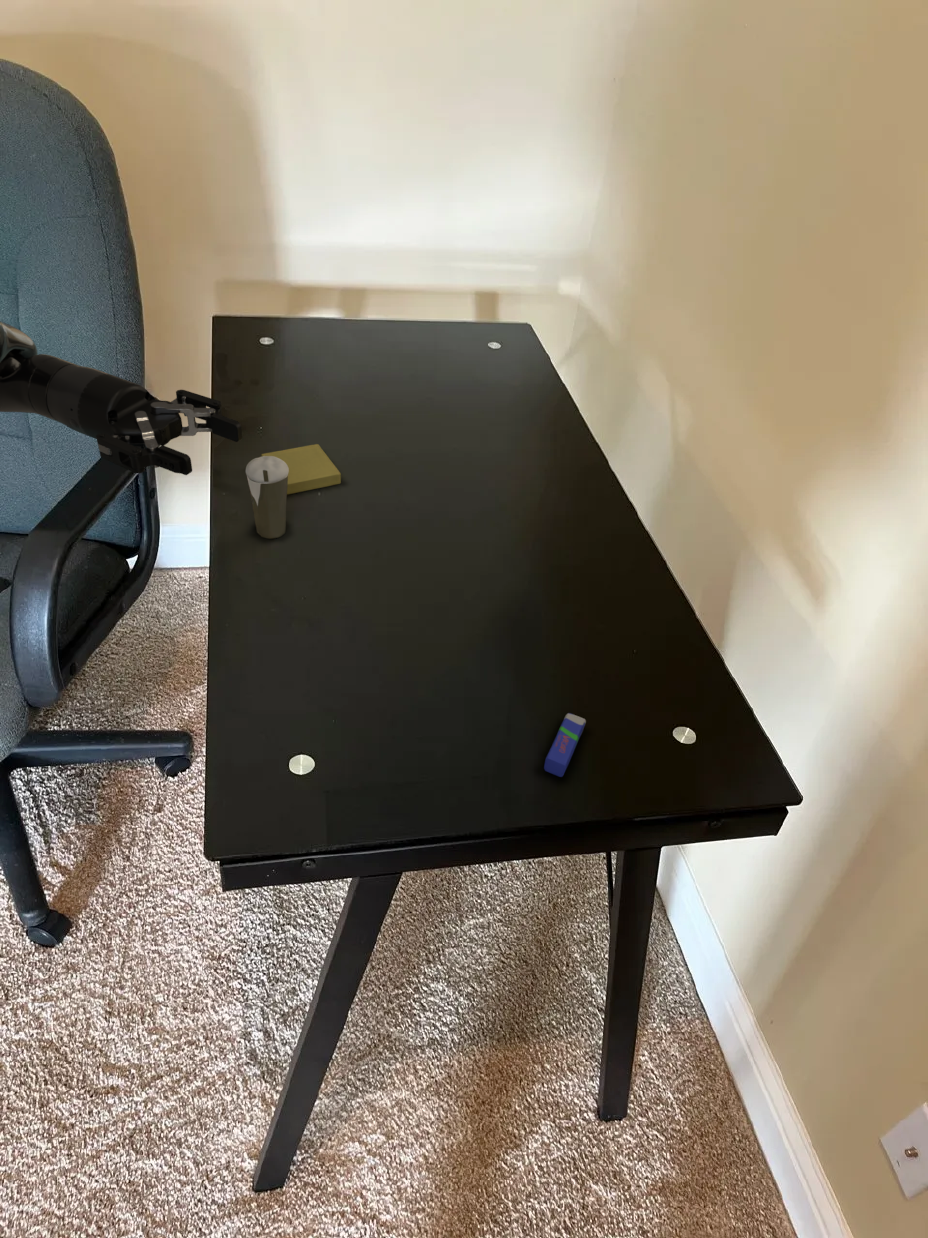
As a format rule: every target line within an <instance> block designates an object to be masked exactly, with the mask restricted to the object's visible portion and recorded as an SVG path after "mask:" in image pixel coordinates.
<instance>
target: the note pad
mask: <svg viewBox="0 0 928 1238" xmlns="http://www.w3.org/2000/svg"><path fill="white" fill-rule="evenodd" d="M262 456H274V457H277V458H279V459H281V460H283V461H284V462H285V463H286V464H287V466H288V468H289V475H288V489H287V496H288V495H292V494H296V493H302V492H306V491H307V492H308V491H312V490H316V489H320V488H326V487H331V486H336V485H340V484H342V482H341V481H342V474H341V472H340V470H339V469H338V468H337V466H336V465H335V464H334V463H333V462H332V460H331V459H330V458H329V456H328V455H327V453H325V451H324V450H323V448H322V447H321V446H320V444H318V443H315V444H309V445H303V446H299V447H293V448H287V449H283V450H277V451H271V452H265V453H261V455H260V457H262Z"/></svg>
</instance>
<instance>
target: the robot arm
mask: <svg viewBox="0 0 928 1238" xmlns="http://www.w3.org/2000/svg"><path fill="white" fill-rule="evenodd" d="M175 396H176V397H175V398H174V399H173V400H171V401H169V400H161V399H157V398H155V397H154V396H153V395H152V394H151V392H149V390H148V389H147V388H145V387H144V386H143V385H141V384H138V383H135V382H133V381H129V380H127V379H125V378H121V377H120V376H116V375H113V374H110V373H107V372H105V371H102V370H99V369H98V368H97V369H96V368H93V367H90V366H89V367H88V366H84V365H83V366H82V365H79V364H76V363H73V362H71V361H67V360H65V359H63V358H61V357H58V356H54V355H51V354H46V353H39V354H38V348H37V345H36V343H35V342H34V341H33V339H32V338H31V337H30V336H29V335H27V334H26V333H25V332H23V331H22V330H20V329H19V328H17V327H15V326H13V325H11V324H9V323H6V322H3V321H1V320H0V413H21V414H22V413H26V414H34V415H39V416H42V417H45V418H47V419H50V420H52V421H55V422H58V423H60V424H62V425H64V426H66V427H67V428H69V429H70V430H73V431H74V432H77V433H79V434H83V435H85V436H87V437H89V438H93V439H95V440H96V442H97V447H98V452H99V455H100V458H102V459H104V460H106V461H108V462H111V463H112V464H115V465H117V466H119V467H121V468H123V469H126V470H128V471H129V472H131V473H135V474H142V473H144V472H145V470H146V469H145V468H148V467H150V468H151V469H157V468H161V469H164V470H168V471H169V472H172V473H174V474H179V475H180V474H181V475H184V476H188V475H189V474H191V473H193V465H192V459H191V457H190V456H189V454H186V453H184V452H181V451H179V450H176V449H174V448H171V447H168V446H166V445H167V444H169V443H170V441H172V440H174V439H177V438H179V437H194V436H196V435H197V433H212V434H213V435H216V436H218V437H221V438H224V439H227V440H229V441H233V442H235V443H238V442H240V441H241V440H243V429H242V425H241V423H240V422H239V421H238V420H235V419H233V418H230V417H227V416H225V415H223V411H222V402H221V400H217V399H214V398H212V397H208V396H205V395H201V394H200V393H199V394H198V393H196V392H192V391H189V390H186V389H178V390H175ZM180 414H183V415H184V417H186V419H187V424H188V425H187V426H183V421H182V416H181V415H180ZM196 419H198V420H202V421H205V422H197V421H196Z"/></svg>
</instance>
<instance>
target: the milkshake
mask: <svg viewBox="0 0 928 1238" xmlns="http://www.w3.org/2000/svg"><path fill="white" fill-rule="evenodd" d="M288 475H289V468H288V466H287V464H286V463H285V462H284V461H283V460H281V459H279V458H277V457H274V456H262V457H261V456H259V457H255V458H252V459H251V460H250V461H249V462H248V463H247V464H246V467H245V476H246V480H247V481H246V482H247V486H248V490H249V495H250V500H251V504H252V512H253V517H254V524H255V529H256V534H258V535H259V536H260V537H261V538H264V539H269V540H272V539H273V540H274V539H276V538H277V539H278V538H281V537H282V536H283V535H284V534H285V533H286V528H287V527H286V525H287V523H286V522H287V496H288V495H287V489H288Z"/></svg>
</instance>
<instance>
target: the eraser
mask: <svg viewBox="0 0 928 1238" xmlns="http://www.w3.org/2000/svg"><path fill="white" fill-rule="evenodd" d="M586 723H587V720H586V719H585V718H583V717H581V716H578V715H575V714H574V713H571V712H568V713H566V714H565V716H564V718H563V721H562V722H561V724H560V727H559V729H558V731H557V734H556V736H555V737H554V740H553V742H552V745H551V747H550V749H549V751H548V753H547V755H546V757H545V760H544V765H543V770H544V771H545V772H547V773H549V774H552V775H553V776H556V777H559V778H563V777H564V775H565V773H566V771H567V769H568V767H569V765H570V762H571V759H572V757H573V755H574V753H575V750H576V748H577V745H578V743H579V740H580V738H581V736H582V734H583V732H584V728H585V726H586Z"/></svg>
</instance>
